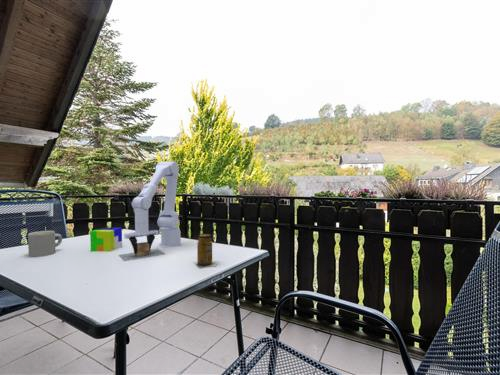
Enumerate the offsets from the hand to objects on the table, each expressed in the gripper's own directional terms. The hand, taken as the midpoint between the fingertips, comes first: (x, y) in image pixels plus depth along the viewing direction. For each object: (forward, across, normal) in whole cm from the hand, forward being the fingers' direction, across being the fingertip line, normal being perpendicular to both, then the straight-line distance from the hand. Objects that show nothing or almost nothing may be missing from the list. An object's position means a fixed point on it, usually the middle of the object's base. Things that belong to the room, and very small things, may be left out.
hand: (142, 252), depth 124 cm
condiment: (+2, +17, -29) cm, 34 cm away
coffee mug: (+2, -35, +31) cm, 47 cm away
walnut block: (+1, 0, 0) cm, 1 cm away
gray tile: (+1, 0, 0) cm, 1 cm away
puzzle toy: (+2, -11, +22) cm, 25 cm away
